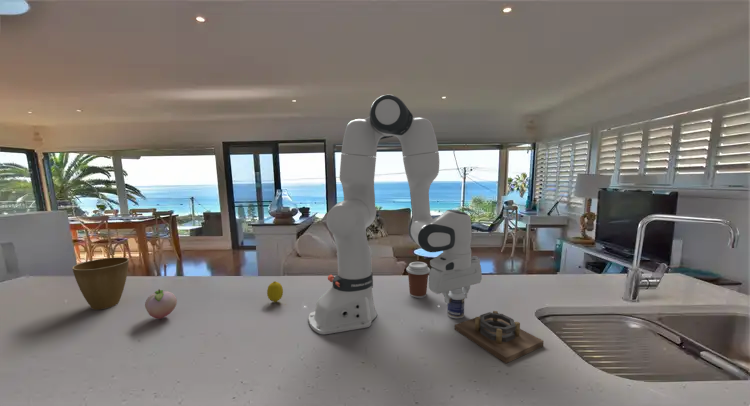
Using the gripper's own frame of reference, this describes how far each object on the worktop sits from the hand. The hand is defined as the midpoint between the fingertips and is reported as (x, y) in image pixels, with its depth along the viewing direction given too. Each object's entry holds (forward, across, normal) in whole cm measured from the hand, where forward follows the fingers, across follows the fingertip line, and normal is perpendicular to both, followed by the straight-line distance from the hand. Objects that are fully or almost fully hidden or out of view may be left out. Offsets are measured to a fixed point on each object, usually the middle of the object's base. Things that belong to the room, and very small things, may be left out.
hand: (455, 300), depth 96 cm
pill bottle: (+5, 0, 0) cm, 5 cm away
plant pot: (+5, +106, -68) cm, 126 cm away
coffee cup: (+5, +1, -20) cm, 20 cm away
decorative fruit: (+5, +86, -46) cm, 97 cm away
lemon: (+5, +51, -40) cm, 65 cm away
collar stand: (+5, -1, +16) cm, 16 cm away
